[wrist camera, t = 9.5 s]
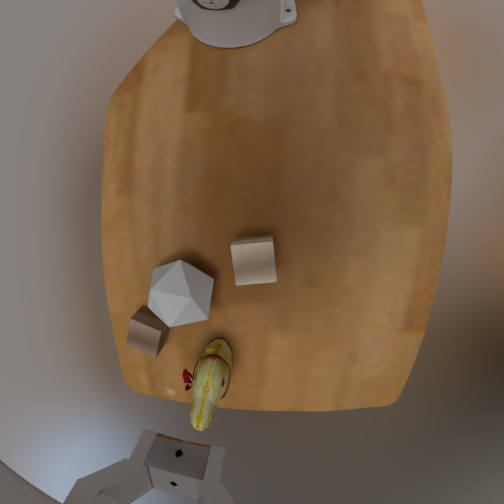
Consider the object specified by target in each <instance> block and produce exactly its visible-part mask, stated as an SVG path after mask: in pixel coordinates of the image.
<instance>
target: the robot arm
mask: <svg viewBox="0 0 504 504" xmlns="http://www.w3.org/2000/svg"><path fill="white" fill-rule="evenodd" d="M175 2H176V4H177V7H176V9H175V11H174V15H175V17H176V19H178V20H179V21H181V22H183V23H185V24H186V25H187V27H188V28H189V30H190V32H191V33H192V35H193V36H194V37H195V38H197V39H198V40H199V41H201V42H203V43H205V44H208V45H211V46H215V47H222V48H234V47H242V46H247V45H250V44H253V43H256V42H258V41H261V40H262V39H264V38H266V37H267V36H269V35H270V34H271V33H273V32H274V31H275V30H277V29H278V28H281V27H284V26H288V25H291V24H293V23H295V22H296V21H297V12H296V5H295V0H175ZM286 11H290V12H286ZM224 454H225V448H220V447H214V446H210V445H206V444H200V443H195V442H191V441H187V440H181V439H177V438H174V437H170V436H167V435H163V434H160V433H157V432H154V431H151V430H147V429H145V430H144V431H143V432H142V434H141V436H140V438H139V440H138V442H137V444H136V446H135V448H134V450H133V452H132V454H131V456H130V458H129V459H126V458H125V459H123V460H121V461H119V462H117V463H114V464H112V465H110V466H108V467H106V468H104V469H101V470H99V471H97V472H95V473H92V474H90V475H88V476H85V477H83V478H80V479H78V480H77V481H76V483H75V484H74V486H73V488H72V490H71V491H70V493H69V495H68V496H67V498H66V500H65V501H64V503H63V504H130V503H132V502H133V501H135V500H136V499H138V498H139V497H141V496H142V495H144V494H145V493H147V492H148V491H150V490H151V489H152V487H153V488H156V489H160V490H164V491H167V492H172V493H175V494H179V495H183V496H186V497H190V498H194V499H197V501H198V503H199V504H234V502H233V500H232V499H231V497H230V495H229V494H228V492H227V490H226V489H225V487H224V485H223V484H219V481H220V476H221V470H222V465H223V459H224ZM0 504H62V503H60V502H58V501H57V500H55V499H53V498H52V497H50V496H49V495H47V494H45V493H44V492H42V491H41V490H39V489H38V488H36V487H35V486H34V485H32V484H30V483H29V482H28V481H27V480H25V479H24V478H22V477H21V476H20V475H18V474H17V473H16V472H15V471H13V470H12V469H11V468H9V467H8V466H7V465H6V464H5V463H3V462H2V461H1V460H0Z"/></svg>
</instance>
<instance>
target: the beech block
mask: <svg viewBox="0 0 504 504" xmlns="http://www.w3.org/2000/svg"><path fill="white" fill-rule="evenodd" d="M231 253H232V261H233V268H234V276H235V283H236V285H248V284H260V283H271V282H277V276H276V263H275V253H274V243H273V234H272V235H262V236H252V237H242V238H235V240H234V241H233V243H232V244H231Z"/></svg>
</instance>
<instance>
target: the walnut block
mask: <svg viewBox="0 0 504 504" xmlns="http://www.w3.org/2000/svg"><path fill="white" fill-rule="evenodd" d="M169 328H170V327H169V326H167V325H166V324H165V323H164V322H163V321H162V320H161V319H160V318H159V317H158V316H157V315H156V314H155V313H154V312H153V311H151V310H150V309H149V308H148V307H146V306H144V305H143V306H142V307H141V308H140V309H139V310H138V311H137V312H136V313H135V314H134V315H133V316H132V317H131V318H130V322H129V329H128V336H127V346H130V347H132V348H134V349H136V350H138V351H141V352H143V353H145V354H148V355H150V356H152V357H155V358H156V357H157V356H158V354H159V352H160V351H161V349H162V348H163V346H164V345H165V343H166V341H167V337H168V332H169Z"/></svg>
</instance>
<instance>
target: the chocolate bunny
mask: <svg viewBox="0 0 504 504" xmlns="http://www.w3.org/2000/svg"><path fill="white" fill-rule="evenodd" d="M198 361H199V362H198ZM198 361H197V363H196V365H195V368H194V372H193V378H192V375H191V373H190V372H188V371H187V369H185V370H184V371H183V378H184V383H188V384H187V385H186V386H185V390H186V391H187V390H189V389H190V388H191V387H192V386H193V404H192V408H191V411H190V419H191V423H192V425H193V427H194V428H196V429H197V430H201V431H203V429H204V428H206V427H208V426H209V424H210V423H211V421H212V418H213V413H214V410H215V408H216V406H217V403H218V402H219V401H220V400H221V399H222V398H223V397H224V396H225V394H226V393H227V391H226V390H228V388H227V387H229V384H228V382H229V383H230V376H231V371H232V352H231V349H230V346H229V345H228V344H227V343H226V342H225V341H224V340H222V339H216V340H214V341H212V342H210V343H209V344H208V345H207V346H206V348H205V352H204V354H203V356H202V357H201V358H200V359H199V360H198ZM189 376H190V377H191V378H192V380H193V382H191V380H190V378H189ZM189 383H191V384H192V386H191V387H190V386H189ZM225 391H226V393H225ZM224 393H225V394H224Z"/></svg>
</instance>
